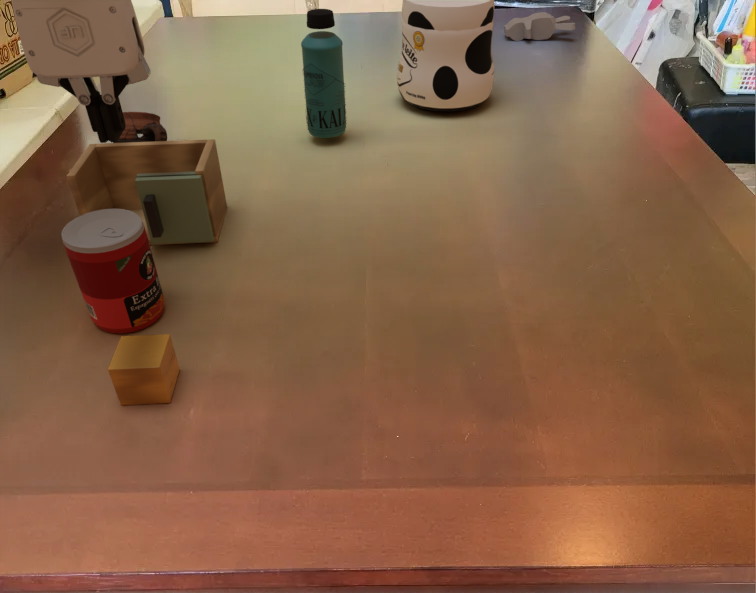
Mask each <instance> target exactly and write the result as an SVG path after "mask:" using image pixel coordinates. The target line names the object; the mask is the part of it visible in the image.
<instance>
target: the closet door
mask: <svg viewBox="0 0 756 593" xmlns="http://www.w3.org/2000/svg"><path fill="white" fill-rule="evenodd" d="M135 184H136V187H137V191H138V195H139V198H140V202H141V206H142V209H143V213H144V217H145V221H146V224H147V228H148V232H149V235H150V239H151V243H152V244H165V245H171V244H170V243H189V244H195V243H194V242H213V240H214V236H213V231H212V226H211V221H210V216H209V212H208V207H207V202H206V197H205V192H204V187H203V182H202V177H201V175H193V176H167V177H141V178H136V179H135ZM213 243H214V242H213Z"/></svg>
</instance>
